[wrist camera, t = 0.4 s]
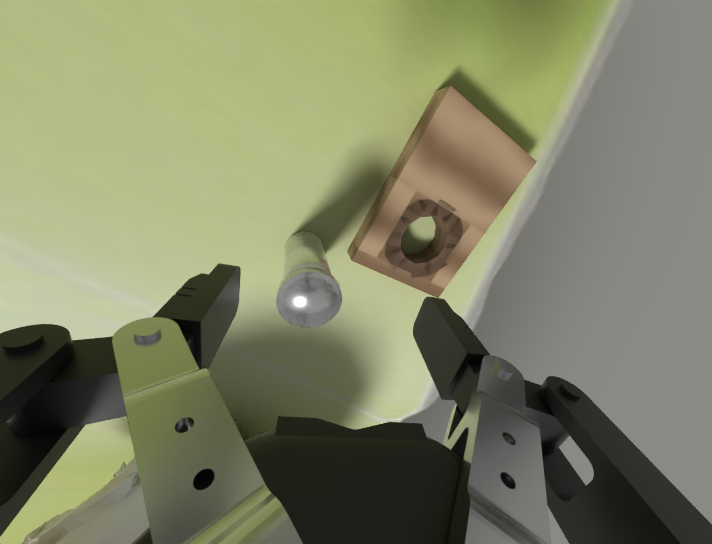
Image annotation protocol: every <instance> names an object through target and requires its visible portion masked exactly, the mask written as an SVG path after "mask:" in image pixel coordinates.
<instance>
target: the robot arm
mask: <svg viewBox="0 0 712 544" xmlns="http://www.w3.org/2000/svg"><path fill="white" fill-rule="evenodd" d="M239 289H240V267H239V266H232V265H226V264H218V265H217V266H216V267H215V268H214V269H213V271H212V272H211V273H210V274H209V275H208V274H202V273H201V274H199V275H197V276H195V277H193V278H191V279H189V280H188V281H187V282H186V283H185V284H184V285H183V286H182V288H181V289H179V290H178V291H177V292H176V293H175V295H173V296H172V298H171V299H170V300H169V301H168V302H167V303H166V304H165V305H164V306H163V307H162V308H161V309H160V310H159V311H158V312H157V313H156V314H155V315H154V316H153V317H152V318H145V319H140V320H136V321H133V322H131V323H129V324H126V325H125V326H123V327H121V328H120V329H119V330H118V331H117V332H116V333H115V334H114V336H113V337H105V338H94V339H83V340H72V339H71V336H70V332H69V331H68V330H67V329H66V328H64V327H62V326H59V325H52V324H39V325H30V326H25V327H20V328H16V329H12V330H9V331H6V332H3V333H1V334H0V536H1V535H2V534H3V532H4V531H5V530H6V528H7V527H8V526H9V524H10V523H11V522H12V521H13V519H14V518H15V517H16V515H17V514H18V513H19V511H20V510H21V509H22V507H23V506H24V505H25V503H26V502H27V501H28V499H29V498H30V497H31V496H32V494H33V493H34V492H35V490H36V489H37V488H38V486H39V485H40V484H41V482H42V481H43V480H44V478H45V477H46V476H47V474H48V473H49V472H50V471H51V469H52V468H53V467H54V465H55V464H56V463H57V461H58V460H59V459H60V457H61V456H62V455H63V453H64V452H65V451H66V449H67V448H68V447H69V446H70V444H71V443H72V442H73V440H74V439H75V438H76V436H77V435H78V434H79V432H80V431H81V430H82V428H83V427H84V426H85V425H86V424H91V423H96V422H100V421H105V420H110V419H115V418H120V417H124V416H127V418H128V423H129V428H130V433H131V438H132V442H133V447H134V452H135V457H136V462H137V467H138V472H139V477H140V482H141V487H142V492H143V497H144V502H145V507H146V511H147V516H148V521H149V527H148V528H147V529H146V530H145V531H144V532H143V533H142V534H141V535H140V536H139V537H138V538H137V539H136V540H135V541H134V542H133V543H132V544H551V536H550V526H549V517H548V507H549V508H550V510H551V512H552V514H553V516H554V517H555V519H556V521H557V523H558V525H559V526H560V528H561V530H562V532H563V533H564V535H565V537H566V539H567V540H568V542H569V543H570V544H712V525H711V523H710V522H709V521H708V520H707V519H706V518H705V517H704V516H703V515H702V514H701V513H700V512H699V511H698V510H697V509H696V508H695V507H694V506H693V505H692V504H691V503H690V502H689V501H688V500H687V499H686V498H685V497H684V495H682V493H681V492H680V491H679V490H678V489H677V488H676V487H675V486H674V485H673V484H672V483H671V482H670V481H669V480H668V479H667V478H666V477H665V476H664V475H663V474H662V473H661V472H660V471H659V470H658V469H657V468H656V467H655V466H654V465H653V463H652V462H651V461H649V459H648V458H647V457H646V456H645V455H644V454H643V453H642V452H641V451H640V450H639V449H638V448H637V447H636V446H635V445H634V444H633V443H632V442H631V441H630V440H629V439H628V438H627V437H626V436H625V435H624V434H623V432H621V430H619V429H618V427H617V426H616V425H615V424H614V423H613V422H612V421H611V420H610V419H609V418H608V417H607V416H606V415H605V414H604V413H603V412H602V411H601V410H600V409H599V408H598V407H597V406H596V405H595V404H594V403H593V402H592V400H590V398H589V397H588V396H587V395H586V394H585V393H584V392H582V391H581V390H580V389H579V388H577V387H576V386H574V385H573V384H571V383H570V382H568V381H566V380H564V379H561V378H559V377H555V376H549V377H547V379H546V380H545V381H544V383H543V384H542V385H538V384H535V383H532V382H529V381H526V380H524V378H523V375H522V374H521V373H520V371H519V370H518V369H517V368H516V367H515V366H513V365H512V364H511V363H509V362H508V361H506V360H504V359H502V358H500V357H497V356H493V355H490V354H489V353H488V351H487V350H486V349H485V347H484V346H483V345H482V343H481V342H480V341H479V340H478V338H477V337H476V336H475V335H474V333H473V332H472V330H471V329H470V328H469V326H468V325H467V324H466V323H465V321H464V320H463V319H462V318H461V317H460V316H459V315H457V314H456V313H455V312H454V311H453V310H452V309H451V308H450V306H449V305H448V303H447V302H446V301H445V300H444V299H440V298H434V297H426V298H425V299H424V301H423V304H422V306H421V309H420V311H419V313H418V316H417V318H416V321H415V323H414V327H413V336H414V339H415V341H416V343H417V345H418V348H419V350H420V352H421V354H422V356H423V359H424V361H425V363H426V365H427V368H428V370H429V372H430V374H431V377H432V379H433V381H434V383H435V385H436V388H437V390H438V392H439V394H440V397H441V399H444V400H455V401H456V405H455V406H454V408H453V410H452V414H451V417H450V421H449V425H448V428H447V431H446V435H445V439H444V442H443V445H442V444H441V443H439V442H437V441H435V440H433V439H430V438H428V437H426V434H425V432H424V428H423V426H422V424H418V423H398V422H388V423H383V424H379V425H375V426H371V427H366V428H362V429H357V430H354V429H350V428H346V427H343V426H340V425H337V424H333V423H330V422H327V421H324V420H320V419H317V418H301V417H281V416H278V421H277V427H276V429H275V430H271V431H267V432H264V433H261V434H258V435H256V436H254V437H252V438H249V439H247V440H246V441H243V439H242V437H241V435H240V433H239V431H238V429H237V427H236V425H235V423H234V421H233V419H232V417H231V415H230V413H229V411H228V409H227V407H226V405H225V403H224V401H223V399H222V397H221V395H220V393H219V391H218V389H217V387H216V385H215V383H214V381H213V379H212V377H211V375H210V373H209V371H208V368H209V366H210V364H211V362H212V360H213V358H214V356H215V354H216V352H217V350H218V348H219V346H220V344H221V342H222V340H223V338H224V336H225V334H226V332H227V331H228V329H229V327H230V325H231V323H232V321H233V319H234V317H235V315H236V312H237V308H238V303H239ZM569 436H571V437H572V439H573V440H574V441H575V443H576V444H577V445H578V446H579V448H580V449H581V450H582V452H583V453H584V454H585V455H586V457H587V458H588V459H589V461H590V462H591V464H592V467H593V470H594V478H593V480H592V481H591V482H590V483H589V484H588V485H587V486H586V485H585V484H584V483H583V481H582V480H581V478H580V477H579V476H578V474H577V473H576V471H575V470H574V468H573V467H572V466H571V464H570V463H569V461H568V460H567V459H566V457H565V456H564V454H563V453H562V452H561V450H560V449H559V446H560V445H561V444H562V443H563V442H564V441H565V440H566V439H567V438H568V437H569ZM547 505H548V507H547Z"/></svg>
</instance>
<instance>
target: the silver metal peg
mask: <svg viewBox="0 0 712 544" xmlns="http://www.w3.org/2000/svg"><path fill="white" fill-rule="evenodd" d="M341 303H342V294H341V290H340V287H339V284H338V282H337V280H336V279H335V278H334V277H333V276H332V275H331V272H330V269H329V265H328V262H327V258H326V255H325V251H324V248H323V244H322V242H321V240H320V239H319V237H318V236H316V235H315V234H313V233H311V232H306V231H302V232H298V233H295V234H293V235H292V236H291V237H290V238H289V239H288V241H287V243H286V247H285V261H284V275H283V280H282V282H281V283H280V285H279V288H278V292H277V308H278V311H279V313H280V314H281V316H282V317H283V318H284V319H285V320H286V321H287V322H289V323H291V324H293V325H295V326H299V327H308V328H309V327H316V326H320V325H322V324H325V323H327V322H328V321H330V320H331V319H332V318H333V317H334V316H335V315H336V314H337V312H338V311H339V309H340V307H341Z"/></svg>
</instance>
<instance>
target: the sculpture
mask: <svg viewBox="0 0 712 544" xmlns="http://www.w3.org/2000/svg"><path fill="white" fill-rule="evenodd" d="M148 527H149V521H148V516H147V511H146V507H145V502H144V497H143V492H142V487H141V482H140V477H139V472H138V467H137V462H136V457H134V458H133V459H132V461H131V462H130V463H129V464H128V465H126V464H125V463H124V462H123V464H122V466H121V467H120V469H119V471H117V472H116V473H115V474H114V478H113V479H112V480H111V481H110V482H109V483H108V484H106V485H105V486H104V487H103V488H102V489H100V490H99V491H98V492H96V493H95V494H94V495H92V496H91V497H90V498H88V499H87V500H85V501H84V502H83V503H81V504H80V505H79V506H77V507H76V508H75V509H71V510H67V511H66V512H64V513H62V514H61V515H57V516H55V517H54V518H52V519H51V520H49V521H48V522H45V523H44V524H43V525H42V526H40V527H39V528H37V529H36V530H34V531H33V532H31V533H30V534H28V535H27V536H26V537H25V539H24V540H25V541H24V542H23V543H22V544H132V543H133V542H134V541H135V540H136V539H137V538H138V537H139V536H140V535H141V534H142V533H143V532H144V531H145V530H146V529H147V528H148Z"/></svg>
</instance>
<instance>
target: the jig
mask: <svg viewBox="0 0 712 544" xmlns="http://www.w3.org/2000/svg"><path fill="white" fill-rule="evenodd" d="M535 163H536V160H535V159H533V158H532V157H531V156H530V155H529V154H528V153H527V152H525V151H524V150H523V149H522V148H521V147H520V146H519V145H518V144H516V143H515V142H514V141H513V140H512V139H511V138H510V137H508V136H507V135H506V134H505V133H504V132H503V131H502V130H501V129H499V128H498V127H497V126H496V125H495V124H494V123H493V122H491V121H490V120H489V119H488V118H487V117H486V116H485V115H483V114H482V113H481V112H480V111H479V110H478V109H477V108H476V107H474V106H473V105H472V104H471V103H470V102H469V101H468V100H466V99H465V98H464V97H463V96H462V95H461V94H460V93H458V92H457V91H456V90H455V89H454V88H453V87H452V86H448V87H445V88H443V89H440V90H437V91H435V93H434V95H433V97H432V99H431V100H430V102H429V104H428V106H427V108H426V110H425V111H424V113H423V115H422V117H421V119H420V120H419V122H418V124H417V126H416V128H415V129H414V131H413V133H412V135H411V137H410V138H409V140H408V142H407V144H406V146H405V148H404V149H403V151H402V153H401V155H400V157H399V158H398V160H397V162H396V164H395V166H394V167H393V169H392V171H391V173H390V175H389V176H388V178H387V180H386V182H385V184H384V186H383V187H382V189H381V191H380V193H379V195H378V196H377V198H376V200H375V202H374V204H373V205H372V207H371V209H370V211H369V213H368V214H367V216H366V218H365V220H364V222H363V224H362V225H361V227H360V229H359V231H358V233H357V234H356V236H355V238H354V240H353V242H352V243H351V245H350V247H349V249H348V251H347V252H348V254H349V256H350V258H351V260H352V261H354V262H356V263H358V264H361V265H363V266H365V267H368V268H370V269H372V270H375V271H377V272H379V273H381V274H384V275H386V276H388V277H391V278H393V279H395V280H398V281H400V282H402V283H405V284H407V285H409V286H411V287H414V288H416V289H418V290H421V291H423V292H425V293H428V294H430V295H432V296H435V297H437V298H438V297H439V296H440V295H441V293H442V292H443V291H444V289H445V288H446V286H447V285H448V284H449V282H450V281H451V279H452V278H453V277H454V275H455V274H456V272H457V271H458V270H459V268H460V267H461V266H462V264H463V263H464V261H465V260H466V259H467V257H468V256H469V254H470V253H471V252H472V250H473V249H474V247H475V246H476V245H477V243H478V242H479V241H480V239H481V238H482V236H483V235H484V234H485V232H486V231H487V229H488V228H489V227H490V225H491V224H492V223H493V221H494V220H495V218H496V217H497V216H498V214H499V213H500V211H501V210H502V209H503V207H504V206H505V204H506V203H507V202H508V200H509V199H510V198H511V196H512V195H513V193H514V192H515V191H516V189H517V188H518V186H519V185H520V184H521V182H522V181H523V180H524V178H525V177H526V175H527V174H528V173H529V171H530V170H531V168H532V167H533V166H534V164H535ZM427 216H432V217H433V220H434V222H435V224H436V230H435V237H434V239H433V240H432V242H431V243H430V245H429V246H428V247H427V248H426V249H424V250H423V251H421V252H420V253H418V254H408V255H407V254H405V253H402V251H401V236H402V235H403V233H404V231H405V230H406V228H407V227H408V225H409V224H410V223H412V222H413V221H415V220H417V219H418V218H420V217H427Z"/></svg>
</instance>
